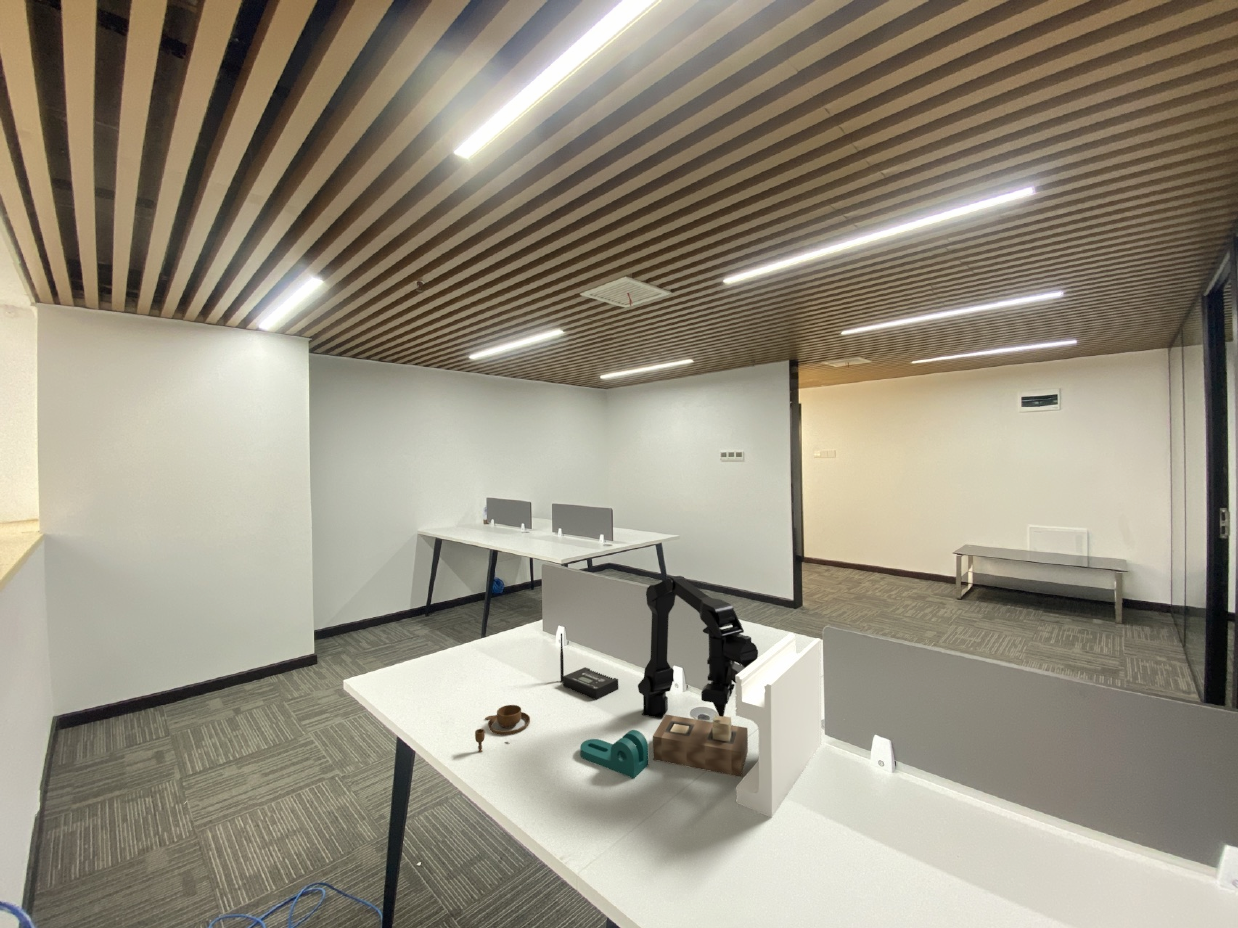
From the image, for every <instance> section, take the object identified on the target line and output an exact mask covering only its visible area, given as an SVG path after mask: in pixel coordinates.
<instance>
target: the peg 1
mask: <svg viewBox="0 0 1238 928" xmlns="http://www.w3.org/2000/svg"><path fill="white" fill-rule="evenodd" d="M688 731H689V726H684V725H678V724H674V725H673V727H672V729H671V731H670V732H676V733H681V734H687V733H688Z"/></svg>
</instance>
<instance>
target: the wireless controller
mask: <svg viewBox="0 0 1238 928" xmlns="http://www.w3.org/2000/svg"><path fill="white" fill-rule="evenodd" d="M559 653H560V654H559V655H560V657H559V663H560V664H559V667H560V668H559V669H560V671H559V672H560V682H561V683H563V684H562V686H563V688H566V689H569V690H571V691H573V692H576V693H578V694H580V695H583V696H585V697H588V698H590V699H593V700H595V701H598V700H600V699H602V698H604V697H606V696H608V695H610V694H612V693H614V692H617V691H618V690H619V679H618V678H616V677H611V676H609V675H608V676H607V674H604V673H601V672H598V671H597V672H596V671H594V670H593V669H591V668H588V667H583V668H580V669H578V670H575V671H573V672H571V673H568V674H566V675H564V671H565V670H564V668H565V667H564V665H565V664H564V646H563V633H562V632H560V651H559Z"/></svg>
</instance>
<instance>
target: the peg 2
mask: <svg viewBox="0 0 1238 928" xmlns="http://www.w3.org/2000/svg"><path fill="white" fill-rule="evenodd" d="M711 722H712V725H713V739H715V740H721V741H727V742H730V741H731V738H732V737H731V725H732V717H731V716H725V715H724V716H723V717H721V716H719V714H715V715H714V717H713V720H712V721H711Z"/></svg>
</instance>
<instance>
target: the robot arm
mask: <svg viewBox="0 0 1238 928" xmlns="http://www.w3.org/2000/svg"><path fill="white" fill-rule="evenodd" d="M645 596H646V605H647V606H648V608H649V610H650V611H651V627H650V628H651V633H650V635H651V636H650V659H649V660H648V662H647V665H646V666H645V668H644V673H643V678H642V679H641V681H639V683H638V684H637V689H638V692H639V694H641V695H642V699H643V710H642V711H641V716H644V717H649V718H650V717H651V718H656V719H663V718H664V717H665V715H667V712H668V710H669V703H668V702H669V701H668V699H669V698H668V696H667V692H670V691H671V689H672V685H673V683H674V682H675V679H674V674H675V673H674V672H675V670H674V668H673V667H671V665H670V663H669V662H668V648H669V647H668V644H669V640H668V638H669V618H670V617H669V615H670V612H671V611H672V609H673V608H674V606H675V602H676V596H677V597H679V598H680V599H681V600H682V601H683V602H685V603H686V604H687V605H689V606H690V607H691V608H693V609H694V610H696V612H698V613H699V619H700V620H701V621H702V622H703V623H704V624H705V625H706V626H705V627H704V628H703V629H702V632H703V633H704V634H706V635H708V657H707V662H706V663H707V665H708V670H709V673H708V675H707V682H708V681H709V683H706V684H705V685H704V686H703V688H702V691H701V693H700V695H701V697H700V698H701V701H703V702H704V703H705V702H706V703H713V706H714V707H715V710H716V712H717V715H719V716H721V717H723V716H725V711H726V706H727V704H728V703H729V701H730V697H731V696H732V694H733V690H735V689H734V688H735V684H736V683H737V682H736V681H735V676H736V675H737V674H738V673H739V672H741V671H742V670H743V669H745V668H746V667H747V666H748V665H750V664H751V663H752V662H754V661H755V660H756V659H757V658H759V650H758V649H757V648H758V647H757V645H756V644H755V643H754V642H752V637H751V636H749V635H744V634H743V633H744V632H745V631H744V629H743V626H742V623H741V622H740V619H739V617H738V615H737V613H736V611H735V609H734V606H733V605H732V604H731V603H729V602H727V601H725V600H722V599H718V598H715V597H714V598H713V597H711V596H709V595H708V594H706V593H704V592H703V591H701V590H700V589H699V588H697V587H696V586H695V585H693V584H692V583H690V582H689V581H688V580H686V578H685V577H684V576H681V575H677V576H670V577H668V578H666V579H665V580H663V581H660V582H658V583H655V584H650V585H648V586H647V588H646V591H645ZM734 683H735V684H734Z"/></svg>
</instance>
